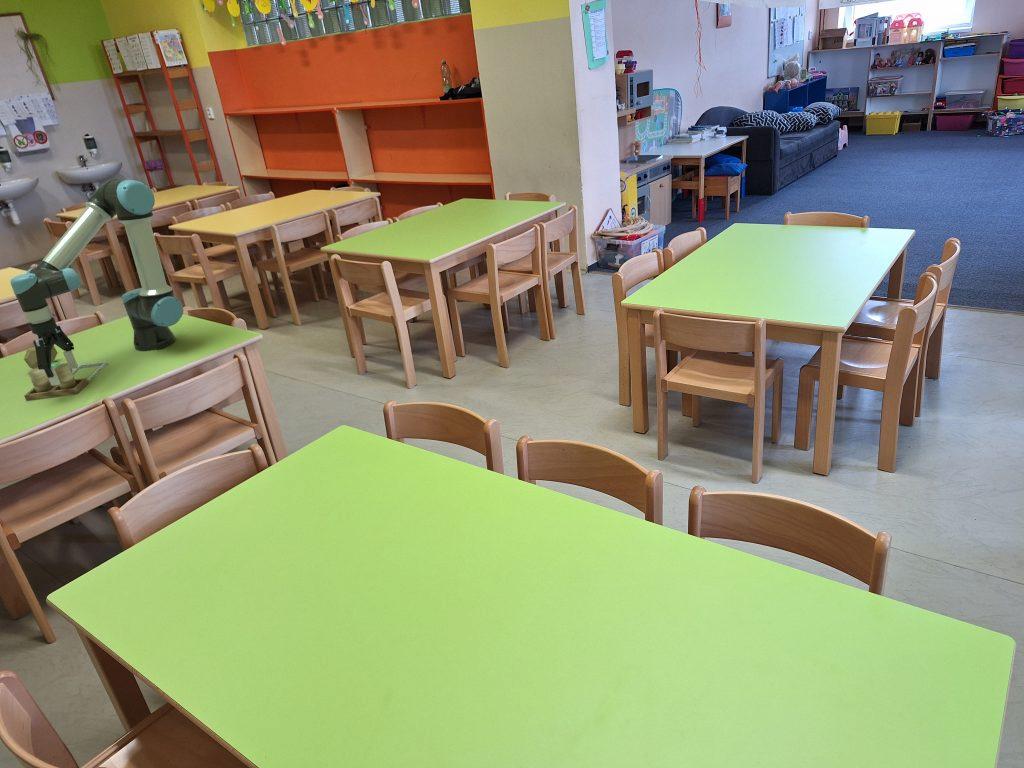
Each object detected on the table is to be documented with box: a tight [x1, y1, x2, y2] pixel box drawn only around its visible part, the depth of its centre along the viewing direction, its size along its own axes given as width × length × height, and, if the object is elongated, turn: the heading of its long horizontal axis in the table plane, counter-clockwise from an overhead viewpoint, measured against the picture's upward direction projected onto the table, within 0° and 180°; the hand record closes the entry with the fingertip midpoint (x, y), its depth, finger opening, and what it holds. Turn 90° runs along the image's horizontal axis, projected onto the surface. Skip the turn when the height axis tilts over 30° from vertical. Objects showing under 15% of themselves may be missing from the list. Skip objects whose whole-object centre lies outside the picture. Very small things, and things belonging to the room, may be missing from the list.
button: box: [51, 361, 61, 368], centre depth 265 cm, size 4×4×6 cm
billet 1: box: [27, 368, 52, 393], centre depth 250 cm, size 5×5×9 cm
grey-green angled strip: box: [72, 361, 109, 383], centre depth 265 cm, size 10×16×2 cm, turn 5°
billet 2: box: [54, 363, 77, 390], centre depth 250 cm, size 5×5×9 cm
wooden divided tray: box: [23, 377, 90, 402], centre depth 252 cm, size 18×9×3 cm, turn 95°
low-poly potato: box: [23, 345, 59, 370], centre depth 275 cm, size 15×11×12 cm
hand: (65, 376), depth 250 cm, fingers open, 13 cm apart
